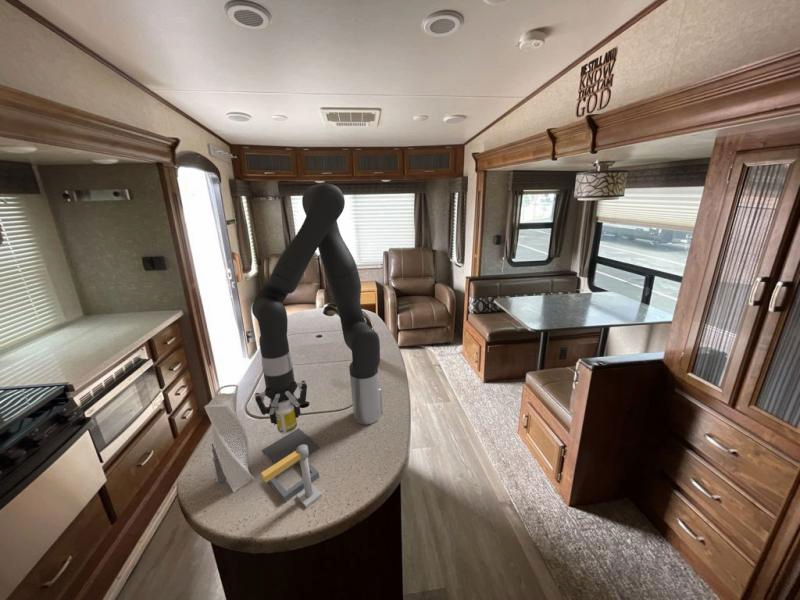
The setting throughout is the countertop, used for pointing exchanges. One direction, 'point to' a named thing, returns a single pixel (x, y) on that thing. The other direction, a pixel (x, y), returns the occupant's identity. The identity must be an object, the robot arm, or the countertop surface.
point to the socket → (300, 485)
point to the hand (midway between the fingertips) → (286, 419)
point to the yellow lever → (285, 463)
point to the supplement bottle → (285, 417)
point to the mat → (289, 445)
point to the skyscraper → (228, 443)
